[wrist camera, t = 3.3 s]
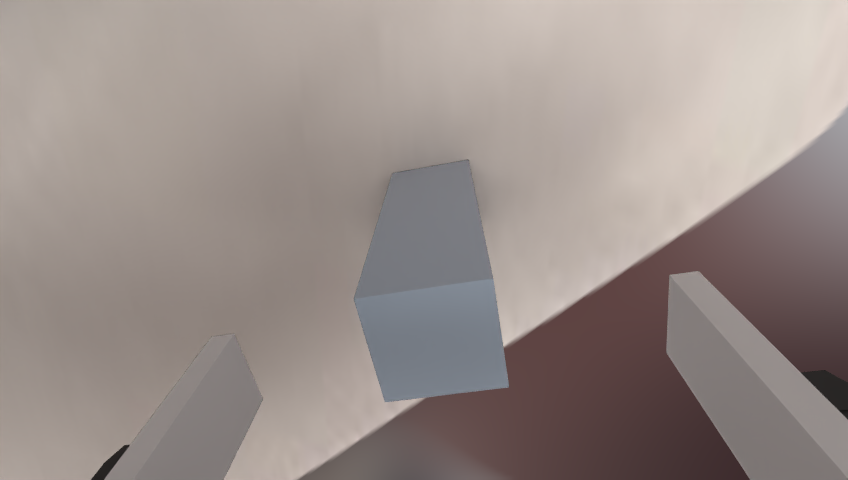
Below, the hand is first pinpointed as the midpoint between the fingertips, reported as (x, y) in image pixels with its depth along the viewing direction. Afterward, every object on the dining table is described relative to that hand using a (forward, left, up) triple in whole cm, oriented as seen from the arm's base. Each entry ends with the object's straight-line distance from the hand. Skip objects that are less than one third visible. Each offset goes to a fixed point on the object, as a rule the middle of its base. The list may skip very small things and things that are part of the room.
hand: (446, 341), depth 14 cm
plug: (0, 0, -12) cm, 12 cm away
